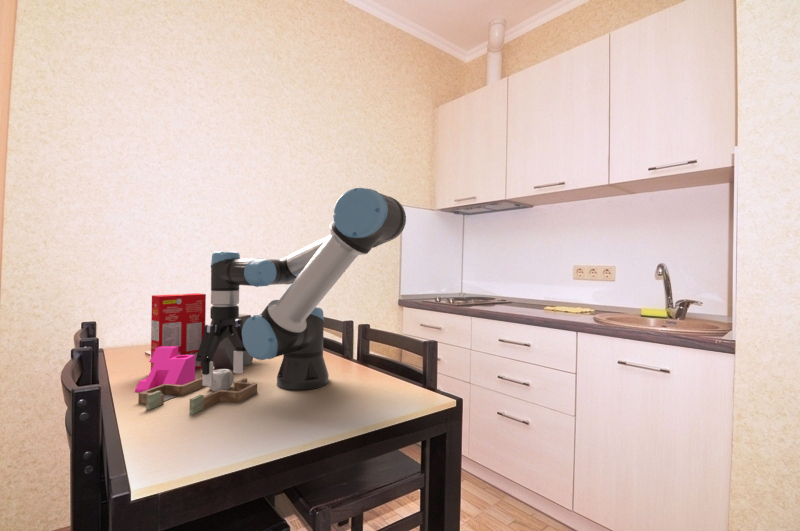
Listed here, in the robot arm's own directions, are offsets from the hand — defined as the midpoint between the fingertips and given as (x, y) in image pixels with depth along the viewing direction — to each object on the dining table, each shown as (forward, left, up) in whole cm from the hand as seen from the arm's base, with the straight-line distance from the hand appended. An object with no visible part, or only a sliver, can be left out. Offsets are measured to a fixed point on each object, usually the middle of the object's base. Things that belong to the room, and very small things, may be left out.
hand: (223, 379), depth 116 cm
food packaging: (+25, -12, -2) cm, 28 cm away
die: (0, +2, -2) cm, 3 cm away
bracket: (+16, +3, -3) cm, 17 cm away
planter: (+12, -21, -2) cm, 25 cm away
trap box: (0, +10, -2) cm, 10 cm away
